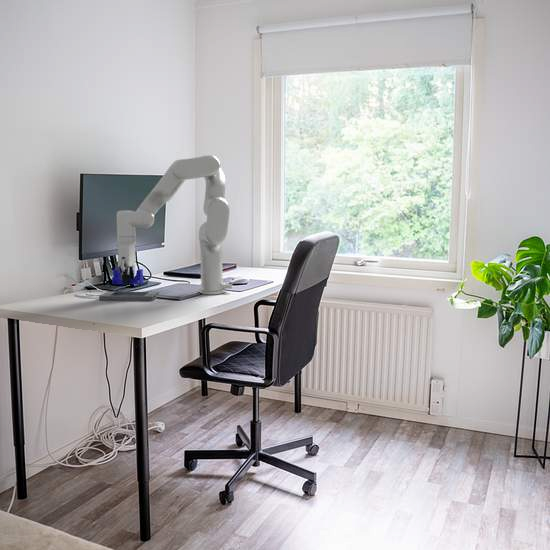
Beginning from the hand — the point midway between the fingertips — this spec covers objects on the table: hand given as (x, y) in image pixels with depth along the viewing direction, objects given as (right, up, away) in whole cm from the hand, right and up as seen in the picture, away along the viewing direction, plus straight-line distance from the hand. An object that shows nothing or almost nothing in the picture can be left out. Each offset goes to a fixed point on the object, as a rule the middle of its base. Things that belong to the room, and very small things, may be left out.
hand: (128, 282), depth 274 cm
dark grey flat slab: (0, -7, +1) cm, 7 cm away
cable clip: (0, -1, 0) cm, 1 cm away
